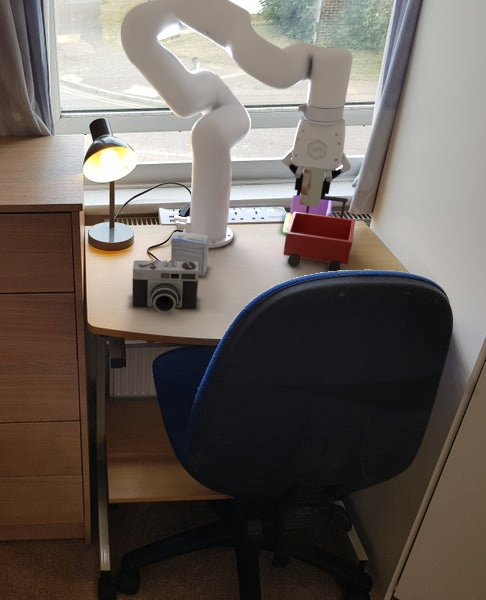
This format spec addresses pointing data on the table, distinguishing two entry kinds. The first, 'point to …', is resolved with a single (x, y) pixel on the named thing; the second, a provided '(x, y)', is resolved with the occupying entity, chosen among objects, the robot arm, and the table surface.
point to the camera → (165, 285)
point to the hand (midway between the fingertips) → (311, 194)
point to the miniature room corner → (296, 207)
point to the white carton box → (312, 186)
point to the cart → (320, 237)
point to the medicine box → (190, 249)
